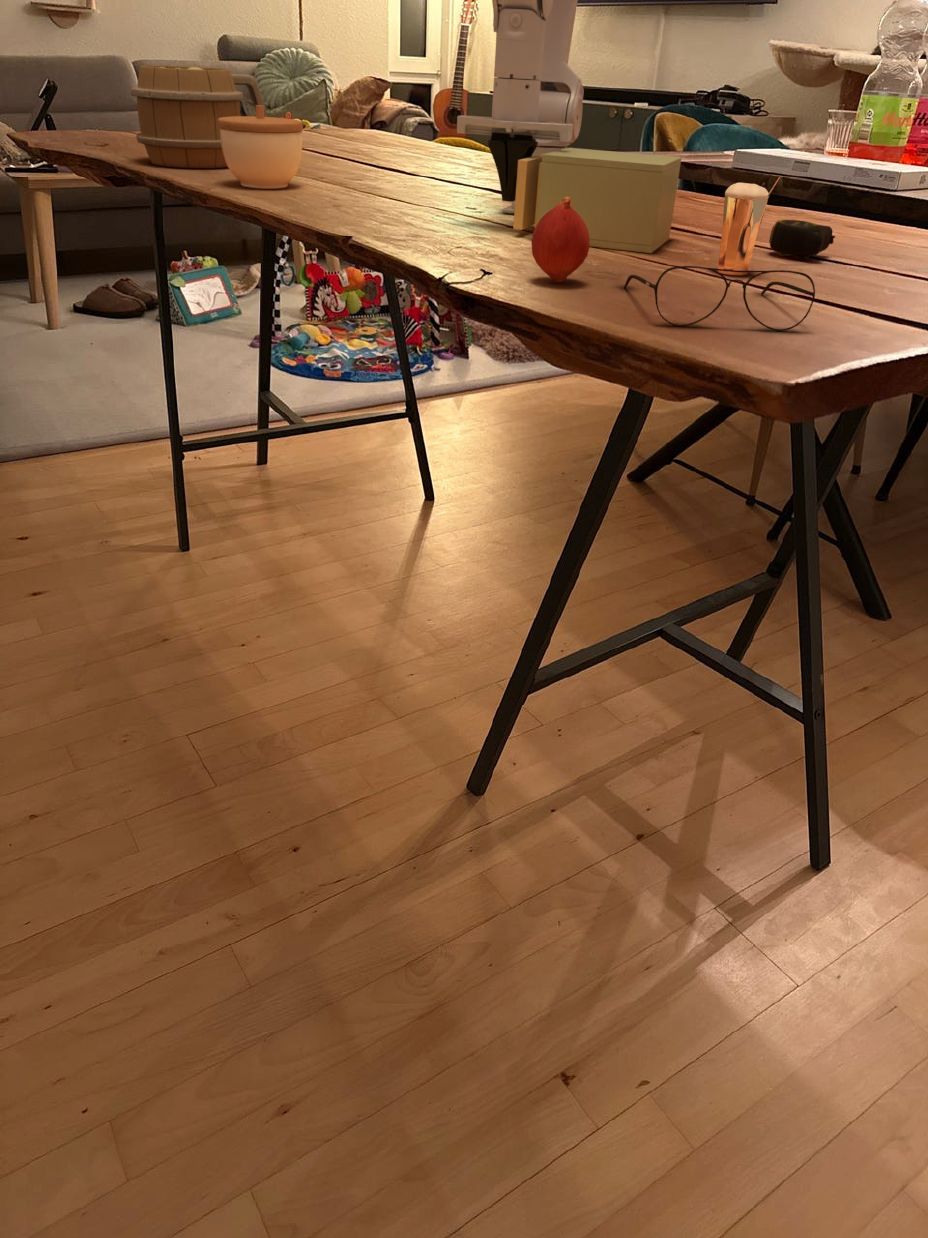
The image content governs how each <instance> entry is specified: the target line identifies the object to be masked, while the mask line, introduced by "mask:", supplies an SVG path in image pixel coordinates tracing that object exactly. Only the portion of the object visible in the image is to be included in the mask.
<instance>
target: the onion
mask: <svg viewBox="0 0 928 1238" xmlns="http://www.w3.org/2000/svg"><path fill="white" fill-rule="evenodd" d="M590 248H591V246H590V237H589V232H588V229H587V227H586V224H585V223H584V221H583V219H582V218H581V217H580V215H579V214H578V213H577V212H575V211H574V210H573V209H572V207H571V199H570V197H566V198H563V200H562V201H561V202H560V203H559V204H558V205H557V206H556V207H555V208H553V209H551V210H550V211H549V212H547V213H546V214H545V215H544V216H543V217H542V218H541V219H540V221H539V222H538V224H537V225H536V227H535V228H534V230H533V232H532V238H531V253H532V257H533V259H534V261H535V263H536V264H537V266H538V267H539V268H540V270H541V271H543V272H544V273H545V274H546V275H547V276H548V277H549V278H550V279H551V280H552V281H553V282H555V283H563V282H564V281H565V280H566V279H567V278H568V277H569V276H570V275H571V274H573V273H574V272H575V271H577V270H578V269H579V268H580V267H581V265H583V264H584V262H585V260H586V259H587V258H588V254H589V251H590Z"/></svg>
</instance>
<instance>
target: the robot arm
mask: <svg viewBox="0 0 928 1238" xmlns="http://www.w3.org/2000/svg"><path fill="white" fill-rule="evenodd" d="M578 1H579V0H491V2H492V3H491V4H492V12H493V14H492V15H493V18H492V19H493V20H492V27H493V28H492V29H493V33H495V50H494V51H495V54H494V67H493V68H494V69H493V71H494V72H493V85H492V87H493V90H492V103H491V104H492V106H491V116H478V115H477V116H476V115H457V119H456V120H457V121H456V134H464V135H465V134H472V135H473V134H474V135H481V136H491V137H490V139H489V140H488V141H487V146H488V149H489V151H490V154H491V156H492V159H493V162H494V165H495V168H496V171H497V175H498V179H499V187H500V192H501V201H502V202H508V203H509V202H510V203H511V205H509V206H506V207H503V208H502V209H501V212H502V213H506V214H514V213H515V199H516V185H517V170H518V160H520V159H524V158H528V157H533V156H537V155H541V154H546V153H550V152H554V151H558V150H562V149H566V148H568V146H570V145H571V144H573V143H574V142H575V141H576V140H577V139H578V137H579V134H580V132H581V126H582V119H583V106H584V105H583V101H584V94H585V92H584V91H585V90H584V86H583V82H582V79H581V78H580V77H579V75H578V74H577V73H576V72H575V71H574V70H573V69H572V68H571V67H570V66H569V59H570V52H571V46H572V39H573V34H574V27H575V19H576V13H577V7H578ZM502 129H505V131H500V130H502Z"/></svg>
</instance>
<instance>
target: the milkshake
mask: <svg viewBox="0 0 928 1238" xmlns="http://www.w3.org/2000/svg"><path fill="white" fill-rule="evenodd" d="M780 179H781V176H779V177H778V178H777V180H776V181H775V183H774V184H773V186H772V187H771V189H770V191H768V190H767V189H766V188H765V187H763V186H761V185H758V184H756V183H748V182H747V183H746V182H736V183H733V184H731V185H729V186H728V187H727V189H726V190H725V191H724V202H723V214H722V228H721V229H722V230H721V231H722V232H721V239H720V248H719V255H718V257H719V258H718V264H717V269H725V270H737V271H749V267H750V265H751V261H752V255H753V253H754V249H755V245H756V241H757V239H758V238H757V237H758V234H759V230H760V227H761V224H762V221H763V218H764V215H765V211H766V208H767V204H768V200H769V197H770V195H771V193H772V191H773V190H774V188H775V187H776V185H777V183H778V182H779V180H780ZM717 272H719V273H721V274H722V275H725V276H734V277H735V276H738V277H739V276H740V277H741V276H742V277H743V276H746V275H748V272H730V271H719V270H717Z"/></svg>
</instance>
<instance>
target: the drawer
mask: <svg viewBox="0 0 928 1238" xmlns="http://www.w3.org/2000/svg"><path fill="white" fill-rule="evenodd" d="M541 165H542V154H541V155H537V156H533V157H528V158H524V159H520V160H518V170H517V185H516V199H515V213H513V214H514V215H513V230H520V231H522V230H525V229H527V228H530V227H532V226H534V229H535V227H536V225H537V214H538V201H539V189H540V177H541Z"/></svg>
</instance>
